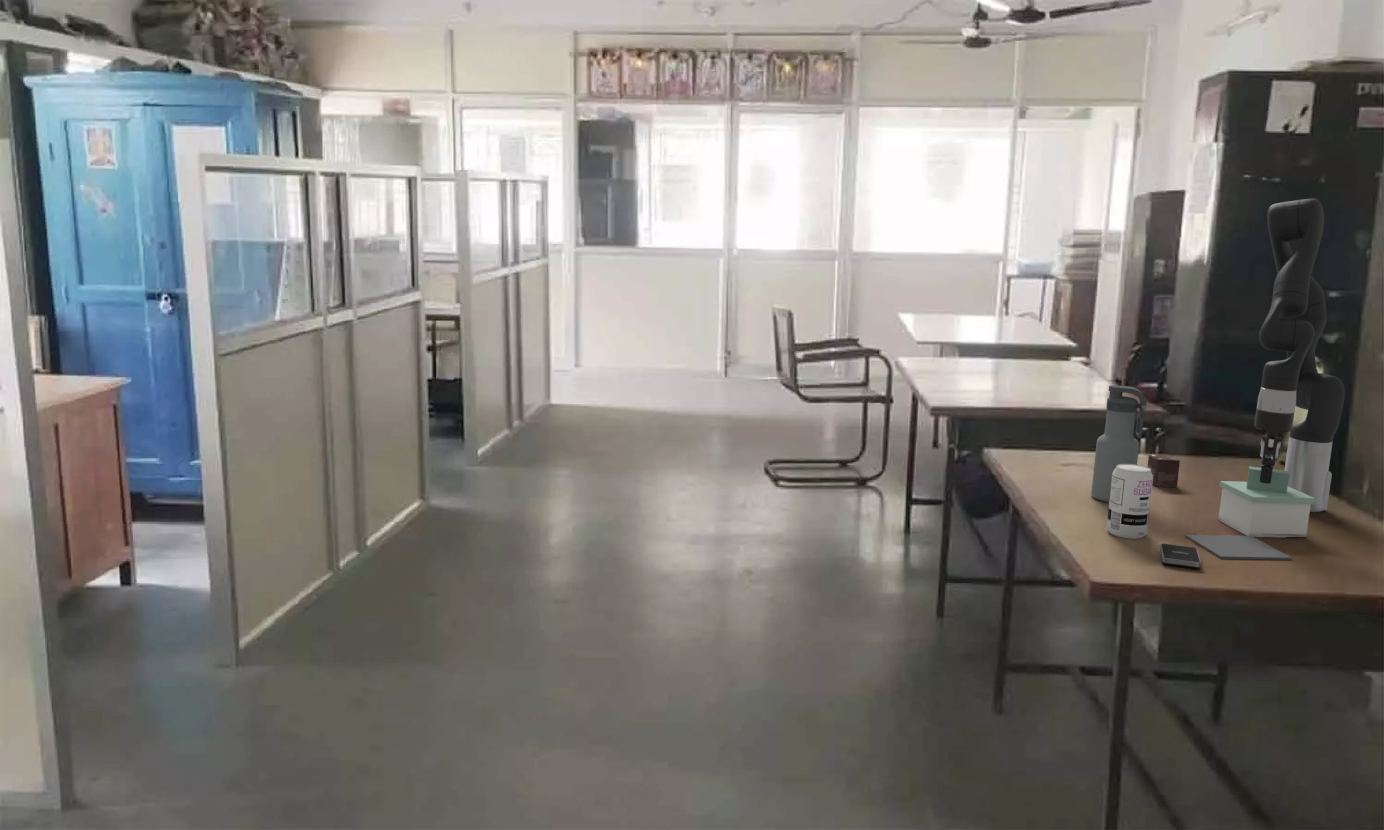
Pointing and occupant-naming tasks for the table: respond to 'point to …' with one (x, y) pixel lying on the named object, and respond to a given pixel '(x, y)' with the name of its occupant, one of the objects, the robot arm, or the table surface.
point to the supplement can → (1129, 501)
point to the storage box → (1264, 517)
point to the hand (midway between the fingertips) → (1265, 479)
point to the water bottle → (1117, 438)
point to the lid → (1267, 488)
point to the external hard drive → (1180, 556)
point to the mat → (1237, 547)
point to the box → (1164, 470)
